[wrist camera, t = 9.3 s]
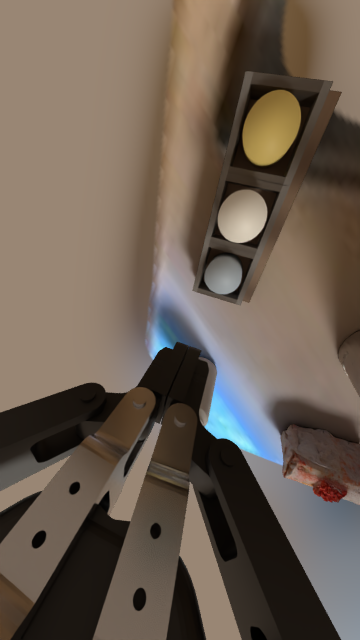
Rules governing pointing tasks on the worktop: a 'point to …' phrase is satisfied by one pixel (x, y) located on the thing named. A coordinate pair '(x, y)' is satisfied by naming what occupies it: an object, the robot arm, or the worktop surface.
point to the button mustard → (271, 128)
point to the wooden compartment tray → (265, 176)
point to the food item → (322, 463)
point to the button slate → (224, 273)
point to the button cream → (242, 216)
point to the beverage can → (207, 392)
